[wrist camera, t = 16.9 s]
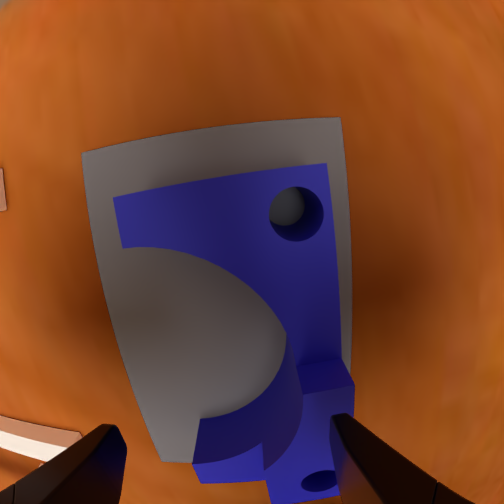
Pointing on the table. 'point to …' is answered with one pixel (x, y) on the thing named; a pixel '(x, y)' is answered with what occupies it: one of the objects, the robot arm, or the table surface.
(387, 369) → the table surface
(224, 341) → the mat
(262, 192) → the cable clip
